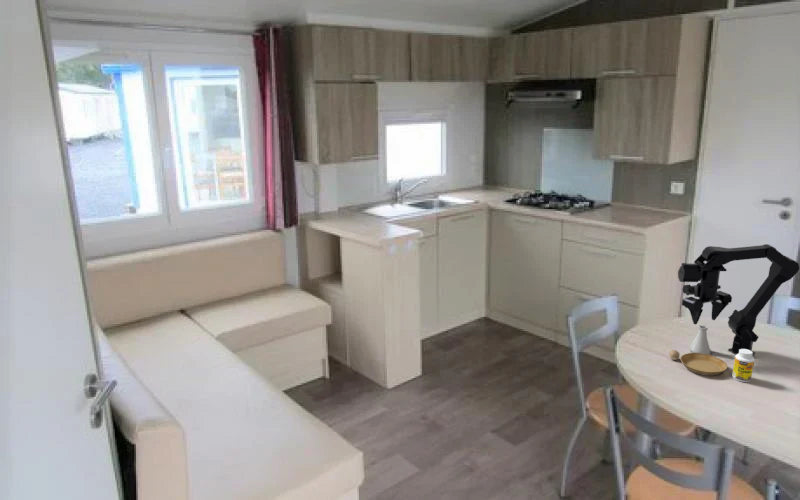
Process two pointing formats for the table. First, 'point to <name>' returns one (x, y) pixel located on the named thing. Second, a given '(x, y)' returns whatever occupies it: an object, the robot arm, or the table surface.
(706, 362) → the plant saucer
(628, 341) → the table surface
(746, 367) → the supplement bottle
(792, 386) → the table surface
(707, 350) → the flask
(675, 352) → the beige ball
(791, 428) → the table surface
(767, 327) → the table surface
